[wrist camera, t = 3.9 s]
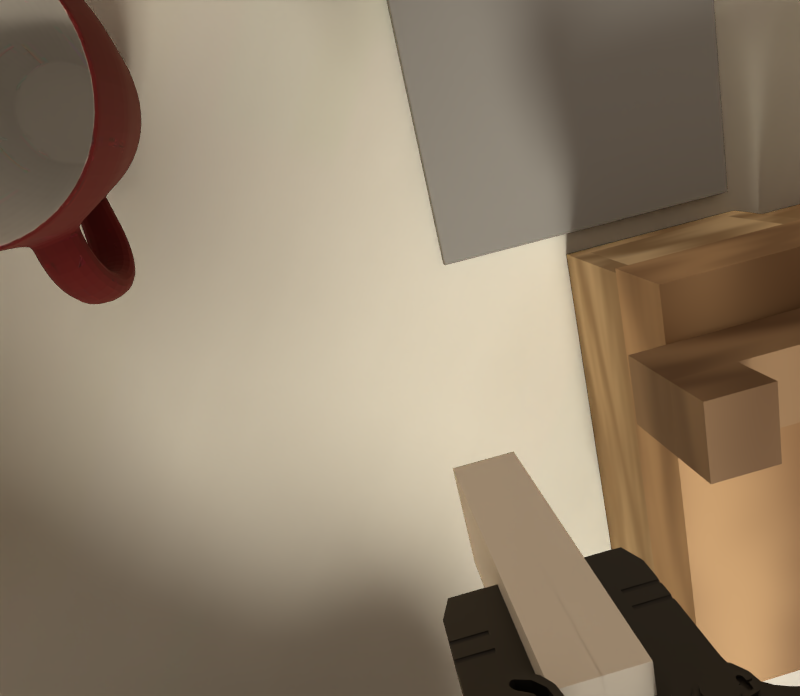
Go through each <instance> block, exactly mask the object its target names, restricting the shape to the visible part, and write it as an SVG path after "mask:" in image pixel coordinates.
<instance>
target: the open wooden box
mask: <svg viewBox="0 0 800 696" xmlns="http://www.w3.org/2000/svg"><path fill="white" fill-rule="evenodd" d="M797 220H800V204H799V205H795V206H791V207H787V208H784V209H780V210H776V211H772V212H768V213H765V214H758V213H750V212H742V211H730V212H726V213H723V214H719V215H715V216H711V217H707V218H704V219H700V220H696V221H692V222H688V223H684V224H681V225H677V226H673V227H669V228H665V229H662V230H658V231H654V232H650V233H646V234H643V235H639V236H635V237H631V238H627V239H624V240H620V241H616V242H612V243H608V244H604V245H601V246H597V247H593V248H589V249H585V250H582V251H578V252H574V253H570V254H566V255H567V262H568V268H569V275H570V281H571V288H572V294H573V301H574V307H575V314H576V320H577V327H578V333H579V340H580V346H581V353H582V359H583V366H584V372H585V379H586V385H587V392H588V398H589V405H590V411H591V418H592V424H593V431H594V437H595V444H596V451H597V457H598V464H599V470H600V477H601V483H602V490H603V496H604V503H605V509H606V516H607V522H608V529H609V535H610V542H611V548H612V549H616V548H619V547H621V548H623V549H625V550H627V551H628V552H630V553H632V554H634V555H635V556H637V557H639V558H641V559H642V560H644V561H645V563H646V564H647V565H648V566H649V567H650V569H651V570H652V571H653V572H654V574H655V570H654V562H653V555H652V547H651V539H650V531H649V524H648V516H647V508H646V501H645V493H644V485H643V478H642V470H641V462H640V455H639V447H638V439H637V432H636V424H635V416H634V409H633V401H632V393H631V386H630V378H629V370H628V363H627V355H626V347H625V340H624V332H623V324H622V316H621V309H620V301H619V293H618V286H617V278H616V270H615V268H619V267H623V266H627V265H631V264H634V263H638V262H642V261H646V260H649V259H653V258H657V257H661V256H664V255H668V254H672V253H676V252H680V251H683V250H687V249H691V248H695V247H698V246H702V245H706V244H710V243H714V242H717V241H721V240H725V239H729V238H732V237H736V236H740V235H744V234H747V233H751V232H755V231H759V230H763V229H766V228H770V227H774V226H778V225H781V224H785V223H789V222H793V221H797Z"/></svg>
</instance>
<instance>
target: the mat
mask: <svg viewBox="0 0 800 696" xmlns="http://www.w3.org/2000/svg"><path fill="white" fill-rule="evenodd" d="M387 4H388V9H389V13H390V18H391V23H392V27H393V32H394V36H395V41H396V46H397V50H398V55H399V60H400V64H401V69H402V74H403V78H404V83H405V88H406V92H407V97H408V102H409V106H410V111H411V115H412V120H413V125H414V129H415V134H416V139H417V143H418V148H419V153H420V157H421V162H422V167H423V171H424V176H425V180H426V185H427V190H428V194H429V199H430V204H431V208H432V213H433V218H434V222H435V227H436V232H437V236H438V241H439V246H440V250H441V255H442V259H443V264H444V265H448V264H452V263H455V262H459V261H463V260H467V259H471V258H475V257H478V256H482V255H486V254H490V253H494V252H498V251H501V250H505V249H509V248H513V247H517V246H521V245H524V244H528V243H532V242H536V241H540V240H544V239H547V238H551V237H555V236H559V235H563V234H567V233H571V232H574V231H578V230H582V229H586V228H590V227H594V226H597V225H601V224H605V223H609V222H613V221H617V220H620V219H624V218H628V217H632V216H636V215H640V214H643V213H647V212H651V211H655V210H659V209H663V208H667V207H670V206H674V205H678V204H682V203H686V202H690V201H693V200H697V199H701V198H705V197H709V196H713V195H716V194H720V193H724V192H727V179H726V165H725V151H724V137H723V123H722V109H721V95H720V81H719V67H718V53H717V40H716V26H715V12H714V0H387Z"/></svg>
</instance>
